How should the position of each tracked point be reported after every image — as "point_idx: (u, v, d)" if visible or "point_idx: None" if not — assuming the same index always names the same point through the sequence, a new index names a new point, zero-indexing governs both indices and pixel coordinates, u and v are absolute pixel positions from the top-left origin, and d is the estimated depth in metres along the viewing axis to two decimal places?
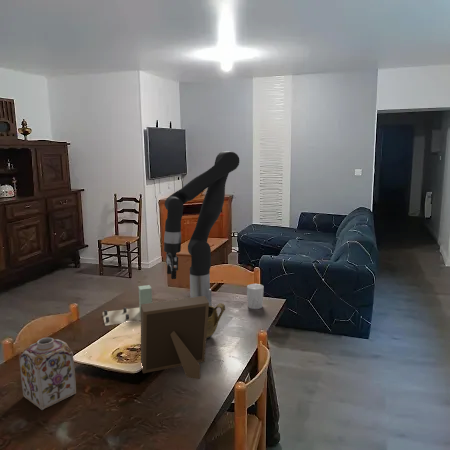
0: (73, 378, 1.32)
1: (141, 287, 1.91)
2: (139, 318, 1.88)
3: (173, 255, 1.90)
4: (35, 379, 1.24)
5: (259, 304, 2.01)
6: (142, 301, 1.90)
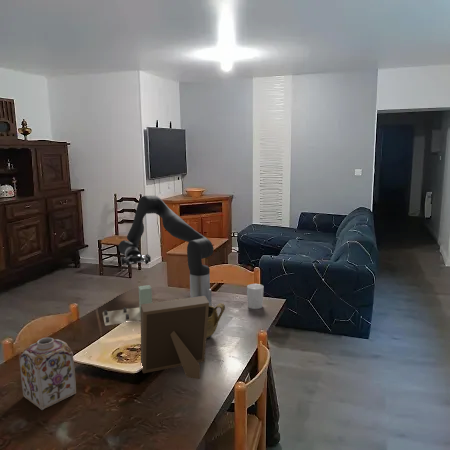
0: (73, 378, 1.32)
1: (141, 287, 1.91)
2: (139, 318, 1.88)
3: (126, 258, 2.16)
4: (35, 379, 1.24)
5: (259, 304, 2.01)
6: (142, 301, 1.90)
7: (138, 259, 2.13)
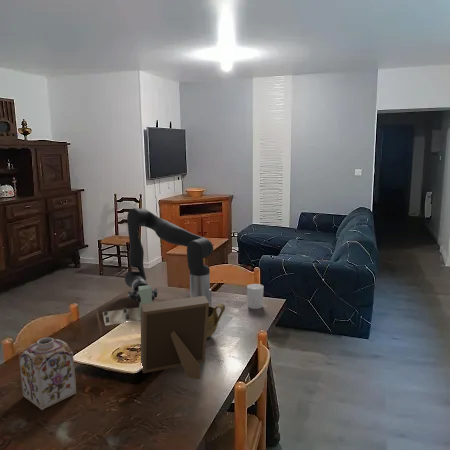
0: (73, 378, 1.32)
1: (141, 287, 1.91)
2: (139, 318, 1.88)
3: None
4: (35, 379, 1.24)
5: (259, 304, 2.01)
6: (142, 301, 1.90)
7: None
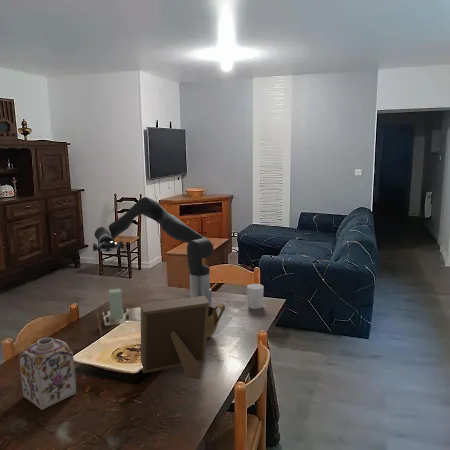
0: (73, 378, 1.32)
1: (111, 290, 1.87)
2: (139, 318, 1.88)
3: None
4: (35, 379, 1.24)
5: (259, 304, 2.01)
6: (112, 305, 1.85)
7: (111, 246, 2.08)
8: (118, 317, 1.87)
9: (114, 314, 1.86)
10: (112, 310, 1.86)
